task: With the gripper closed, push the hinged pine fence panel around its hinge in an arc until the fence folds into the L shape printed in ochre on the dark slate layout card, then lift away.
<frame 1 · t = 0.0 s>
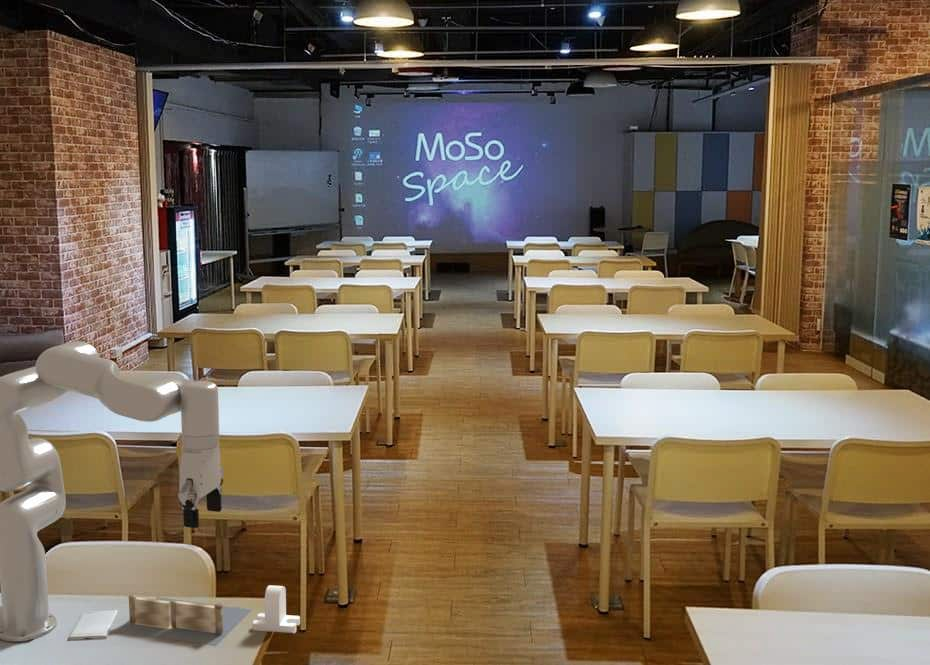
hand: (203, 518, 204), 31 cm above the table, fingers open, 9 cm apart
fence swing panel: (196, 615, 219), point 4 cm above the table, hinge at 0.0°
fence fixed section: (174, 627, 221), resting on layout card
hard drive: (94, 630, 221), on the table
layout card: (185, 621, 224), on the table
cable organizer: (276, 628, 223), on the table
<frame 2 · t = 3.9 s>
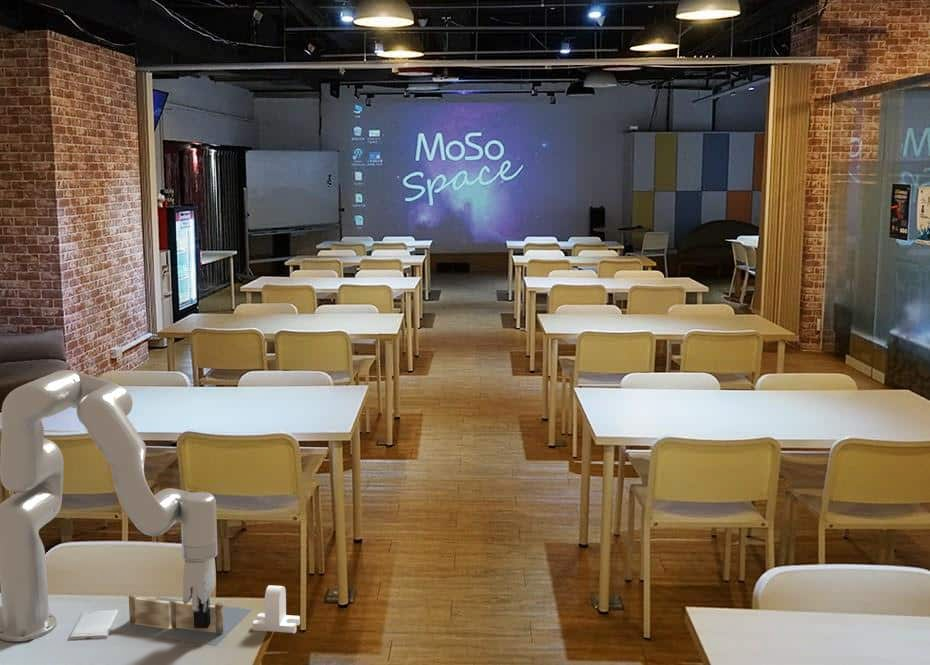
hand: (202, 626, 216), 3 cm above the table, fingers closed
fence swing panel: (196, 615, 219), point 4 cm above the table, hinge at 1.2°, touching gripper
everything else where it was.
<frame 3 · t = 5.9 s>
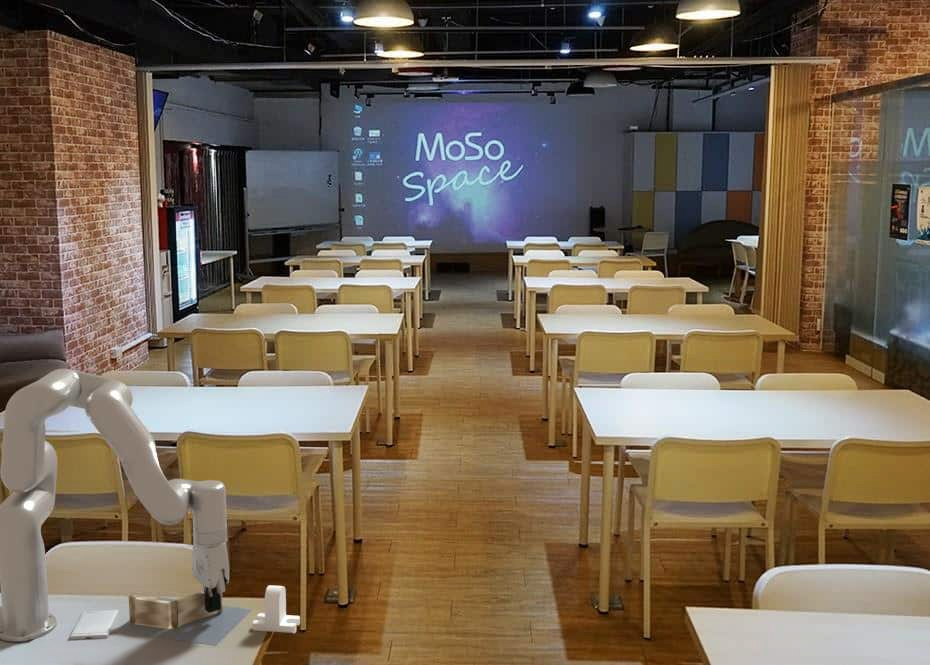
hand: (213, 609, 224), 3 cm above the table, fingers closed
fence swing panel: (197, 605, 224), point 4 cm above the table, hinge at 55.7°, touching gripper
everything else where it was.
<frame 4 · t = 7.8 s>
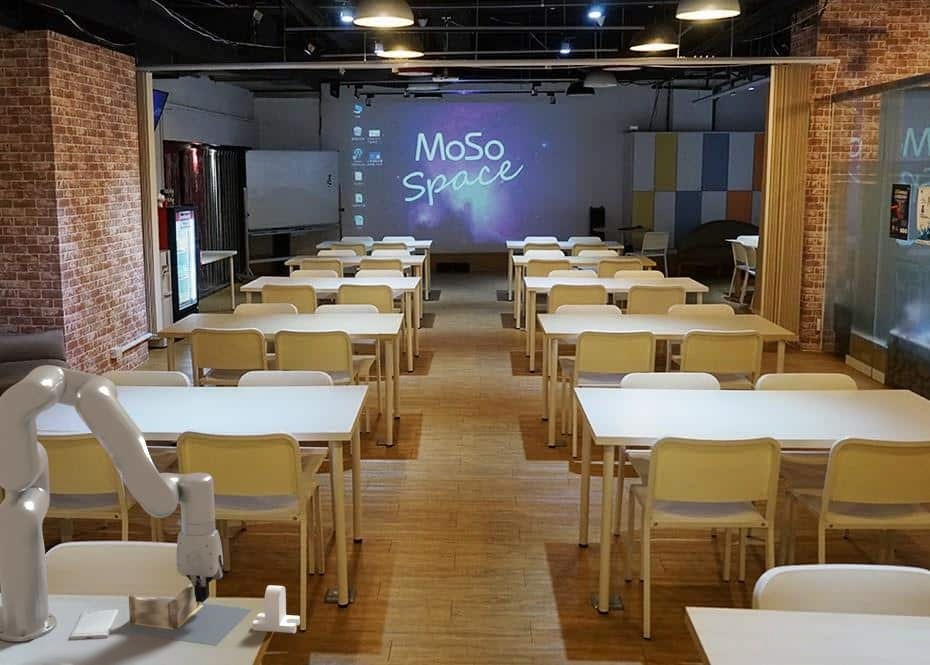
hand: (202, 599, 228), 3 cm above the table, fingers closed
fence swing panel: (185, 601, 226), point 4 cm above the table, hinge at 93.3°, touching gripper
everything else where it was.
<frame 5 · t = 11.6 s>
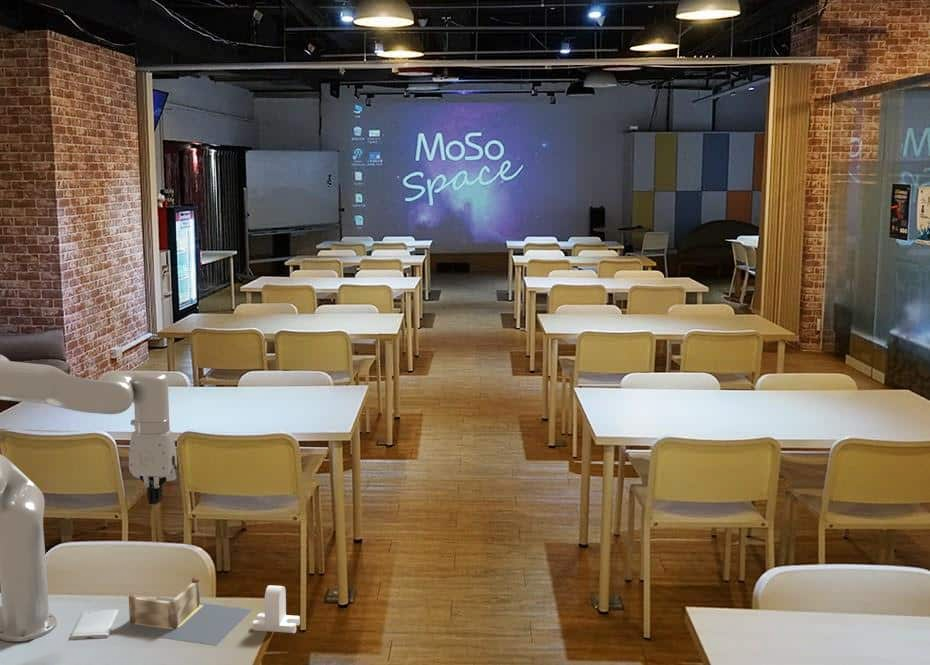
hand: (155, 502, 225), 27 cm above the table, fingers closed
fence swing panel: (185, 601, 226), point 4 cm above the table, hinge at 93.2°
everything else where it was.
at the end: fence swing panel at +93° (first picture: +0°); cable organizer moved 0.3 cm from its start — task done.
